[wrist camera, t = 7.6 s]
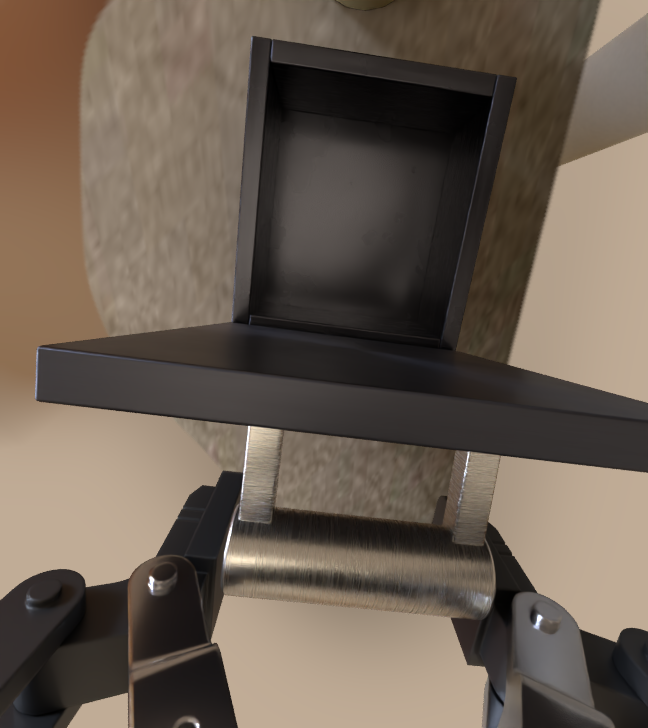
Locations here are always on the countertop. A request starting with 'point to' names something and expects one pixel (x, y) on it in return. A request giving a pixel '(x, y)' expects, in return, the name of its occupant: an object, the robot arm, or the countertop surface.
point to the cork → (365, 3)
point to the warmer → (363, 192)
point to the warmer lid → (360, 421)
